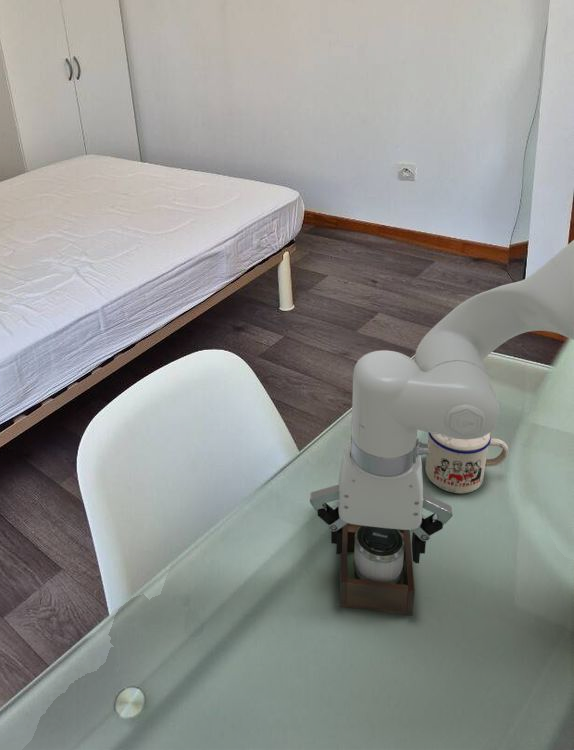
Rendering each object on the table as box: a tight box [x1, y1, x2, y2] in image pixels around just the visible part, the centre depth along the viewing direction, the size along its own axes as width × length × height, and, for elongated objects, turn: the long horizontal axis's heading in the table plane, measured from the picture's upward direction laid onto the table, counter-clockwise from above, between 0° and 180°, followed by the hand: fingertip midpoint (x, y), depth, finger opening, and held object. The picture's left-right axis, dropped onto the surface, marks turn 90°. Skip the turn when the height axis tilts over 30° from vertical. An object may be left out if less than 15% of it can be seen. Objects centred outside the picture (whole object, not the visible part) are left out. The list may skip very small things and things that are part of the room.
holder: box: [339, 523, 416, 616], centre depth 95 cm, size 9×17×4 cm, turn 168°
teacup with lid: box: [425, 432, 509, 494], centre depth 106 cm, size 12×9×12 cm
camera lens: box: [354, 526, 405, 584], centre depth 90 cm, size 6×6×8 cm
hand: (376, 549), depth 90 cm, fingers open, 9 cm apart
